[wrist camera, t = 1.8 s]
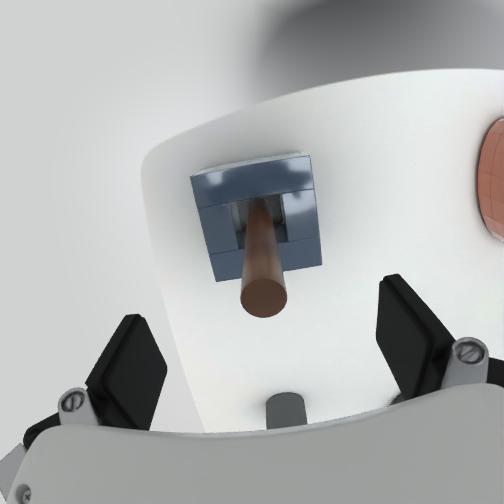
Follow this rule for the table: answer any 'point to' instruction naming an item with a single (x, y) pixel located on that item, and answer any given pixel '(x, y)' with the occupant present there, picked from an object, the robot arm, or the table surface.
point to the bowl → (492, 180)
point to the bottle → (285, 411)
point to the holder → (251, 186)
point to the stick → (262, 264)
